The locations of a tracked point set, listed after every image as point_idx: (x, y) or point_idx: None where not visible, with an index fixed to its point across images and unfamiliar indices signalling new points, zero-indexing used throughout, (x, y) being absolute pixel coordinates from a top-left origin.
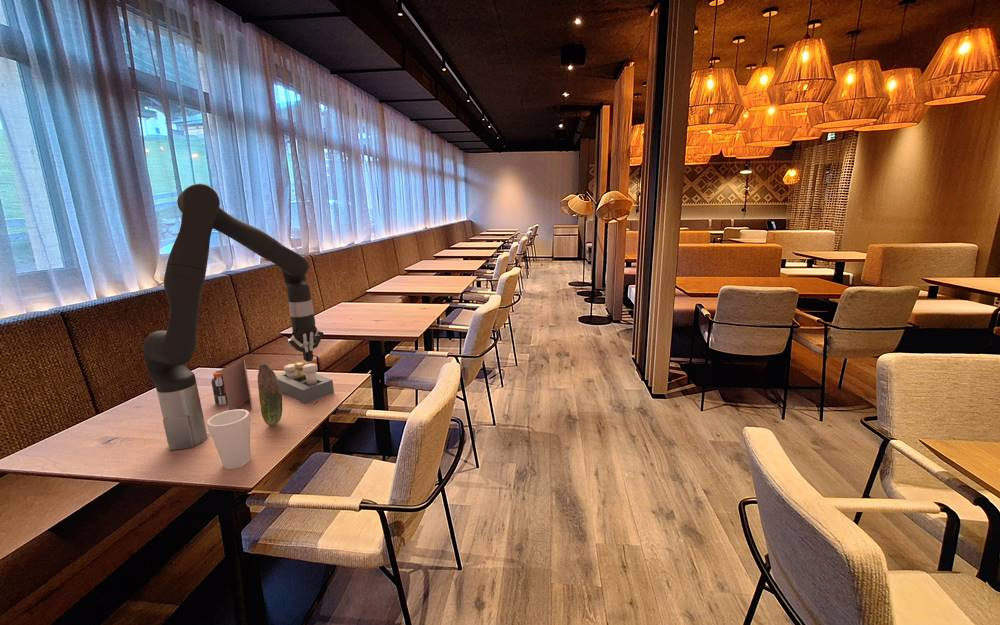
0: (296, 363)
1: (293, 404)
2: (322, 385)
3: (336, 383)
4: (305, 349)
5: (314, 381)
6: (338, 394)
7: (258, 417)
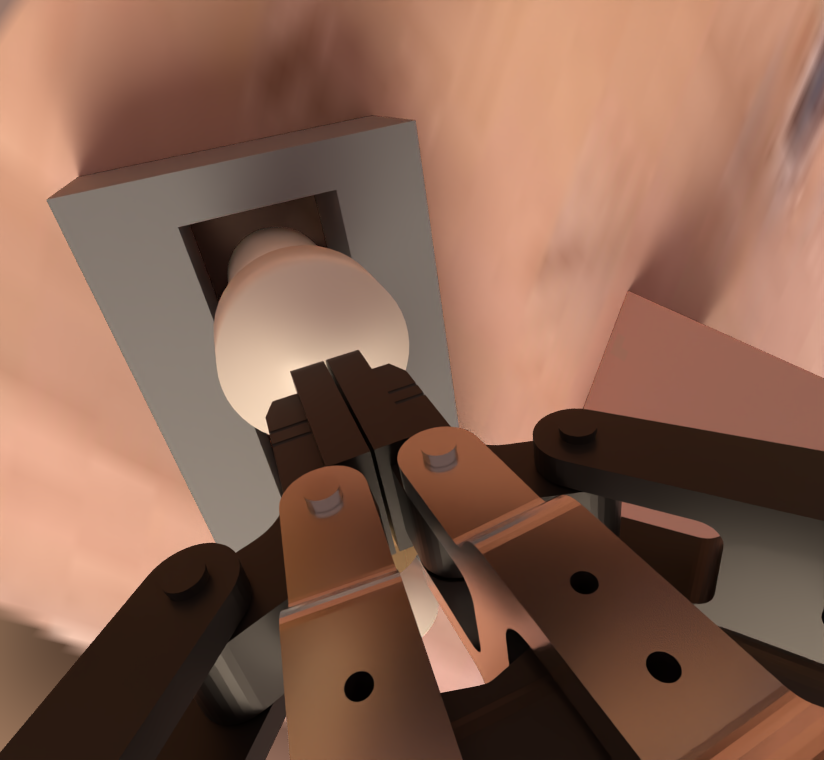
0: (397, 555)
1: (440, 180)
2: (193, 164)
3: (16, 399)
4: (484, 460)
5: (269, 237)
6: (37, 96)
7: (660, 128)
